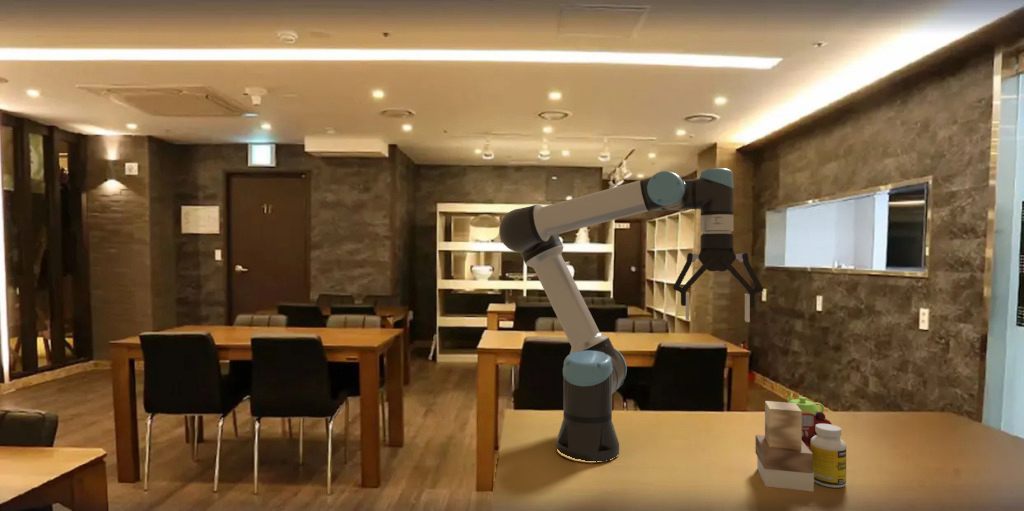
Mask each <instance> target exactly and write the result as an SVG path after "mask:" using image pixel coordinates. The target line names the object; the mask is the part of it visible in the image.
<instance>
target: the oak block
mask: <svg viewBox="0 0 1024 511" xmlns="http://www.w3.org/2000/svg"><path fill="white" fill-rule="evenodd" d="M764 436H765V438H766V441H767V443H768V445H769V447H776V448H786V449H796V450H802V411H801V410H800V408H799V407H798V406H797V405H796V403H788V402H785V401H784V402H783V401H773V400H765V401H764Z"/></svg>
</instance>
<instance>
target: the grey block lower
mask: <svg viewBox="0 0 1024 511" xmlns="http://www.w3.org/2000/svg"><path fill="white" fill-rule="evenodd" d="M756 456H757V455H756ZM756 459H757V460H756V461H757V463H756V464H757V465H756V466H757V471H758V473H759V475H760V478H761V480H762V482H763V484H764V487H770V488H776V489H777V488H779V489H788V490H798V491H805V492H814V491H815V489H814V488H815V486H814V485H815V482H814V473H803V472H792V471H781V470H771V469H764V468H763V466H762V464H761V462H760V460H759V458H758V456H757V458H756Z"/></svg>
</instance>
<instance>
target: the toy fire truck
mask: <svg viewBox="0 0 1024 511" xmlns="http://www.w3.org/2000/svg"><path fill="white" fill-rule="evenodd" d="M825 418H826V415H825V413H824V412H823V413H822V412H817V413H816V415H814V414H812V413H807V412H802V441H803V442H804V444H805V445H806V446H807V447H808V448H809V450H810V443H811V438H812V437H813V436H815V435H817V433H816V432H815V426H816V424H831V425H833V424H832V422H831V421H830V420H829V419H827V418H826V419H825Z"/></svg>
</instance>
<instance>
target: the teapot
mask: <svg viewBox="0 0 1024 511" xmlns="http://www.w3.org/2000/svg"><path fill="white" fill-rule="evenodd" d="M787 403H796V405H797V406H798V407H799V408H800V410H801V411H802V412H807V413H812V414H814V415H816V413H817V412H822V413H824V411H825V407H824V406H825V405H823V404H822V403H821V402H813V401H811V400H807V397H804V396H798V398H795V399H794V397H790V396H789V397H788V398H787ZM818 406H819V407H820V409H819V408H818ZM825 419H827V418H826V417H825Z"/></svg>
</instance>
